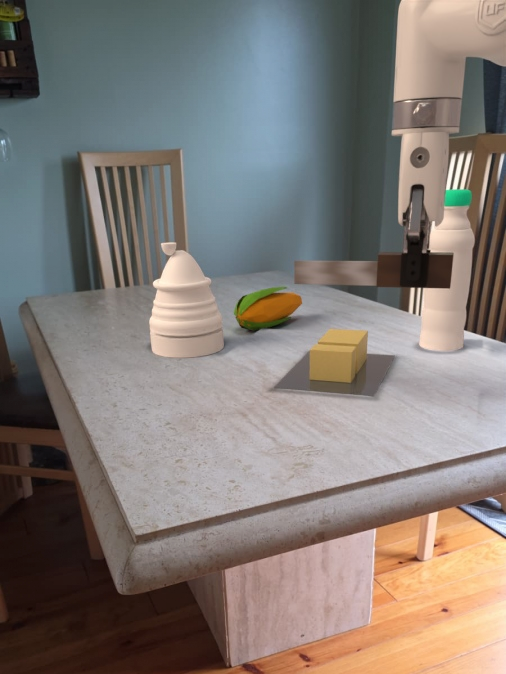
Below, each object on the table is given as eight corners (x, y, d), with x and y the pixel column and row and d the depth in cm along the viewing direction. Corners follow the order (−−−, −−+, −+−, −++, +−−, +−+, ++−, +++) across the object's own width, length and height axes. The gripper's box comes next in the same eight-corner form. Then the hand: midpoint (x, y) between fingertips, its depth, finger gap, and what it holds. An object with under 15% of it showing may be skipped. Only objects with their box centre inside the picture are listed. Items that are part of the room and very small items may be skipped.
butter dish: (394, 361, 100) (395, 355, 99) (373, 403, 83) (374, 396, 82) (309, 355, 104) (310, 350, 104) (273, 394, 87) (273, 387, 87)
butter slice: (355, 376, 90) (356, 346, 88) (350, 383, 87) (352, 352, 85) (314, 373, 92) (315, 344, 90) (309, 379, 89) (309, 349, 87)
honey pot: (161, 361, 104) (150, 249, 96) (144, 343, 115) (133, 241, 107) (234, 351, 108) (229, 243, 100) (211, 335, 119) (205, 236, 111)
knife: (450, 285, 78) (453, 252, 77) (450, 288, 76) (453, 254, 75) (296, 282, 84) (296, 251, 83) (292, 285, 82) (292, 253, 81)
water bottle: (439, 343, 109) (454, 188, 99) (471, 351, 103) (490, 188, 93) (409, 349, 106) (421, 190, 95) (441, 358, 100) (457, 190, 90)
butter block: (366, 358, 98) (368, 330, 96) (357, 373, 91) (358, 343, 89) (329, 356, 100) (330, 328, 98) (317, 370, 93) (317, 341, 91)
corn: (223, 292, 117) (285, 276, 131) (223, 331, 121) (284, 312, 135) (253, 298, 113) (314, 282, 127) (252, 339, 117) (312, 318, 131)
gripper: (458, 113, 63) (441, 297, 71) (461, 122, 77) (447, 274, 84) (383, 118, 65) (375, 295, 73) (399, 125, 79) (391, 274, 87)
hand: (414, 283), depth 79 cm, fingers closed on knife, 2 cm apart
